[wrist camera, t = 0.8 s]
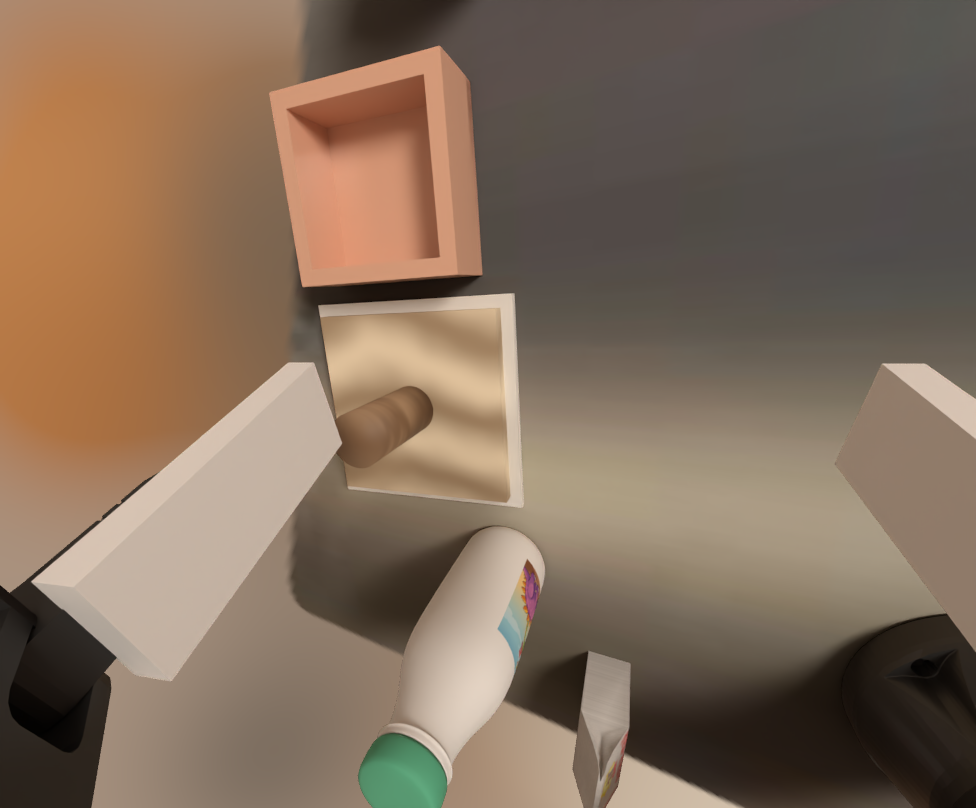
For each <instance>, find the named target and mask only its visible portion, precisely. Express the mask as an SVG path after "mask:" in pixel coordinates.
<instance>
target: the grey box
mask: <svg viewBox="0 0 976 808" xmlns="http://www.w3.org/2000/svg"><path fill="white" fill-rule="evenodd" d="M629 714H630V663H627V662H624V661H621V660H617V659H614V658H610V657H607V656H604V655H600V654H597V653H594V652H590V651H589V653H588V660H587V667H586V674H585V681H584V688H583V695H582V702H581V709H580V717H579V724H578V732H577V740H576V747H575V755H574V762H573V772H574V776H575V779H576V782H577V786H578V789H579V793H580V796H581V800H582V803H583V806H584V808H605V807H606V806H607V804H608V802H609V801H610V799H611V797H612V795H613V793H614V792H615V790H616V789H617V787H618V783H619V777H620V772H621V767H622V762H623V756H624V751H625V746H626V741H627V736H628V730H629Z"/></svg>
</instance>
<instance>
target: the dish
mask: <svg viewBox="0 0 976 808" xmlns="http://www.w3.org/2000/svg"><path fill="white" fill-rule="evenodd" d="M269 94H270V99H271V106H272V112H273V117H274V123H275V129H276V135H277V141H278V147H279V153H280V159H281V165H282V170H283V176H284V182H285V188H286V194H287V200H288V206H289V211H290V217H291V223H292V229H293V235H294V241H295V247H296V252H297V258H298V264H299V270H300V276H301V282H302V287H328V286H352V285H365V284H378V283H391V282H404V281H417V280H429V279H442V278H455V277H468V276H481V275H482V260H481V244H480V229H479V213H478V197H477V182H476V166H475V150H474V135H473V119H472V103H471V88H470V81H469V80H468V79H467V77H466V76H465V75H464V74H463V73H462V71H461V70H460V69H459V68H458V67H457V65H456V64H455V63H454V62H453V61H452V59H451V58H450V57H449V56H448V55H447V53H446V52H445V51H444V50H443V49H442V48H441V46H437V47H433V48H429V49H426V50H422V51H419V52H415V53H411V54H408V55H404V56H400V57H397V58H393V59H389V60H386V61H382V62H378V63H375V64H371V65H368V66H364V67H360V68H357V69H353V70H349V71H346V72H342V73H338V74H335V75H331V76H327V77H324V78H320V79H317V80H313V81H309V82H306V83H302V84H298V85H295V86H291V87H287V88H284V89H280V90H276V91H273V92H269Z"/></svg>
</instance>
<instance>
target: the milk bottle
mask: <svg viewBox="0 0 976 808" xmlns="http://www.w3.org/2000/svg"><path fill="white" fill-rule="evenodd" d="M544 577H545V565H544V561H543V558H542V556H541V554H540V551H539V550H538V548H537V547H536V545H535V544H534V543H533V542H532V541H531V540H530V539H529V538H528V537H527V536H525V535H524V534H523V533H521V532H519V531H517V530H515V529H511V528H509V527H502V526H493V527H489V528H485V529H483V530H480V531H478V532H477V533H476V534H474V535H473V536H472V537H471V539H470V540H469V541H468V543H467V544H466V546H465V547H464V549H463V550H462V552H461V553H460V555H459V557H458V558H457V560H456V561H455V563H454V564H453V566H452V567H451V569H450V571H449V572H448V574H447V575H446V577H445V578H444V580H443V581H442V583H441V585H440V586H439V588H438V589H437V591H436V593H435V594H434V596H433V597H432V599H431V600H430V602H429V604H428V605H427V607H426V608H425V610H424V612H423V614H422V615H421V617H420V619H419V620H418V622H417V624H416V626H415V627H414V629H413V632H412V634H411V636H410V638H409V640H408V643H407V646H406V649H405V652H404V656H403V660H402V666H401V673H400V682H399V690H398V696H397V701H396V705H395V709H394V712H393V715H392V718H391V721H390V723H389V724H387V725H385V726H384V727H383V728H382V729H381V730H380V731H379V733H378V736H377V739H376V740H375V741H374V743H373V744H372V746H371V747H370V749H369V750H368V752H367V754H366V756H365V758H364V760H363V762H362V764H361V766H360V770H359V774H358V779H359V785H360V788H361V791H362V793H363V795H364V797H365V798H366V800H367V801H368V803H369V804H370V805H371V806H372V807H373V808H441V806H442V804H443V801H444V798H445V795H446V791H447V786H448V785H449V783H450V782H451V779H452V773H453V772H452V763H453V761H454V760H455V758H456V756H457V755H458V753H459V752H460V750H461V749H462V748H463V746H464V745H465V744H466V743H467V741H468V740H469V739H470V738H471V737H472V736H473V735H474V734H475V733H476V732H477V731H478V730H479V729H480V728H481V727H482V726H483V725H484V724H485V723H486V722H487V721H488V720H489V719H490V718H491V717H492V716H493V714H494V713H495V712H496V711H497V709H498V708H499V706H500V704H501V703H502V701H503V699H504V697H505V695H506V693H507V691H508V689H509V687H510V685H511V682H512V679H513V676H514V674H515V671H516V668H517V665H518V662H519V659H520V656H521V653H522V650H523V647H524V644H525V641H526V637H527V634H528V631H529V628H530V625H531V621H532V618H533V615H534V612H535V609H536V605H537V602H538V599H539V596H540V592H541V589H542V586H543V582H544Z"/></svg>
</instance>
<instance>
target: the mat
mask: <svg viewBox="0 0 976 808" xmlns="http://www.w3.org/2000/svg"><path fill="white" fill-rule="evenodd" d="M318 307H319V313H320V317H328V316H347V315H366V314H386V313H406V312H426V311H445V310H465V309H485V308H500V310H501V328H502V347H503V365H504V384H505V402H506V421H507V439H508V457H509V476H510V494H511V496H510V498H509V500H508V502H507V503H504V502H494V501H485V500H475V499H466V498H456V497H447V496H437V495H428V494H418V493H409V492H399V491H390V490H380V489H371V488H361V487H352V486H348V489H353V490H362V491H371V492H381V493H390V494H399V495H408V496H418V497H427V498H436V499H445V500H455V501H464V502H473V503H482V504H492V505H501V506H510V507H519V508H522V507H523V505H524V494H523V472H522V450H521V428H520V406H519V384H518V362H517V340H516V319H515V297H514V293H512V294H495V295H479V296H463V297H447V298H430V299H414V300H398V301H382V302H365V303H349V304H333V305H318Z"/></svg>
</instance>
